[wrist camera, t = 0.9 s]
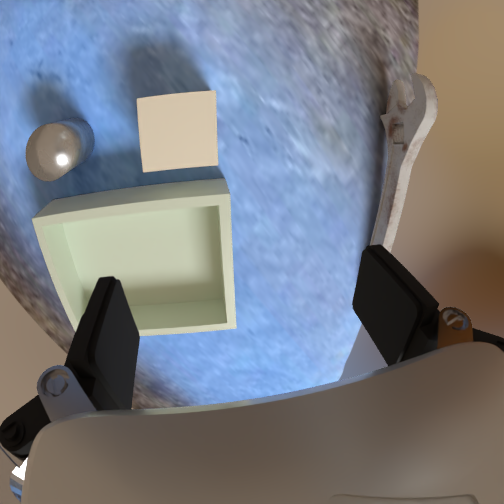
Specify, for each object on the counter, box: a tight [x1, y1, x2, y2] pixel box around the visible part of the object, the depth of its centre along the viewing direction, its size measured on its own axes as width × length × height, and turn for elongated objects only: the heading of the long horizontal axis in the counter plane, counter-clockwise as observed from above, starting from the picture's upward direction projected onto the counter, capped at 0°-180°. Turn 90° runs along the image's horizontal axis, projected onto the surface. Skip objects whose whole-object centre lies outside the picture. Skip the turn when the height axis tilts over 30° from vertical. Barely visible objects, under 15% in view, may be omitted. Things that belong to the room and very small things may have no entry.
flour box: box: [137, 90, 218, 173], centre depth 23 cm, size 6×6×7 cm
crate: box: [32, 178, 236, 336], centre depth 30 cm, size 16×20×5 cm
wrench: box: [370, 73, 438, 252], centre depth 31 cm, size 8×2×30 cm
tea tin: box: [26, 118, 95, 181], centre depth 22 cm, size 5×5×6 cm
